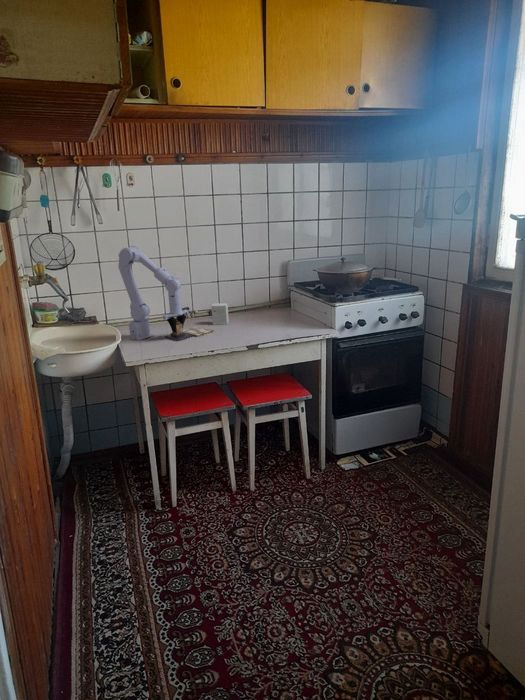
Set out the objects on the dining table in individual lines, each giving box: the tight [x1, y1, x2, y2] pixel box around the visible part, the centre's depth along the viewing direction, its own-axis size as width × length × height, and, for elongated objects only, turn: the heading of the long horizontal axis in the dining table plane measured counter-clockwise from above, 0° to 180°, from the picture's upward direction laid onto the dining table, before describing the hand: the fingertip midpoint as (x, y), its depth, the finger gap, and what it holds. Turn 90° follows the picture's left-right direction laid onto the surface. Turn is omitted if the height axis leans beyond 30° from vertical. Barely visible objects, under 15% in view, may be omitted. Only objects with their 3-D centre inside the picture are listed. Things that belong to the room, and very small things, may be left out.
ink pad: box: [163, 333, 194, 342], centre depth 243 cm, size 9×11×1 cm
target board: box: [183, 326, 215, 338], centre depth 250 cm, size 11×13×1 cm
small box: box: [210, 302, 230, 326], centre depth 264 cm, size 8×6×10 cm
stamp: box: [169, 321, 185, 337], centre depth 241 cm, size 5×5×7 cm
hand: (177, 331), depth 242 cm, fingers closed on stamp, 4 cm apart
